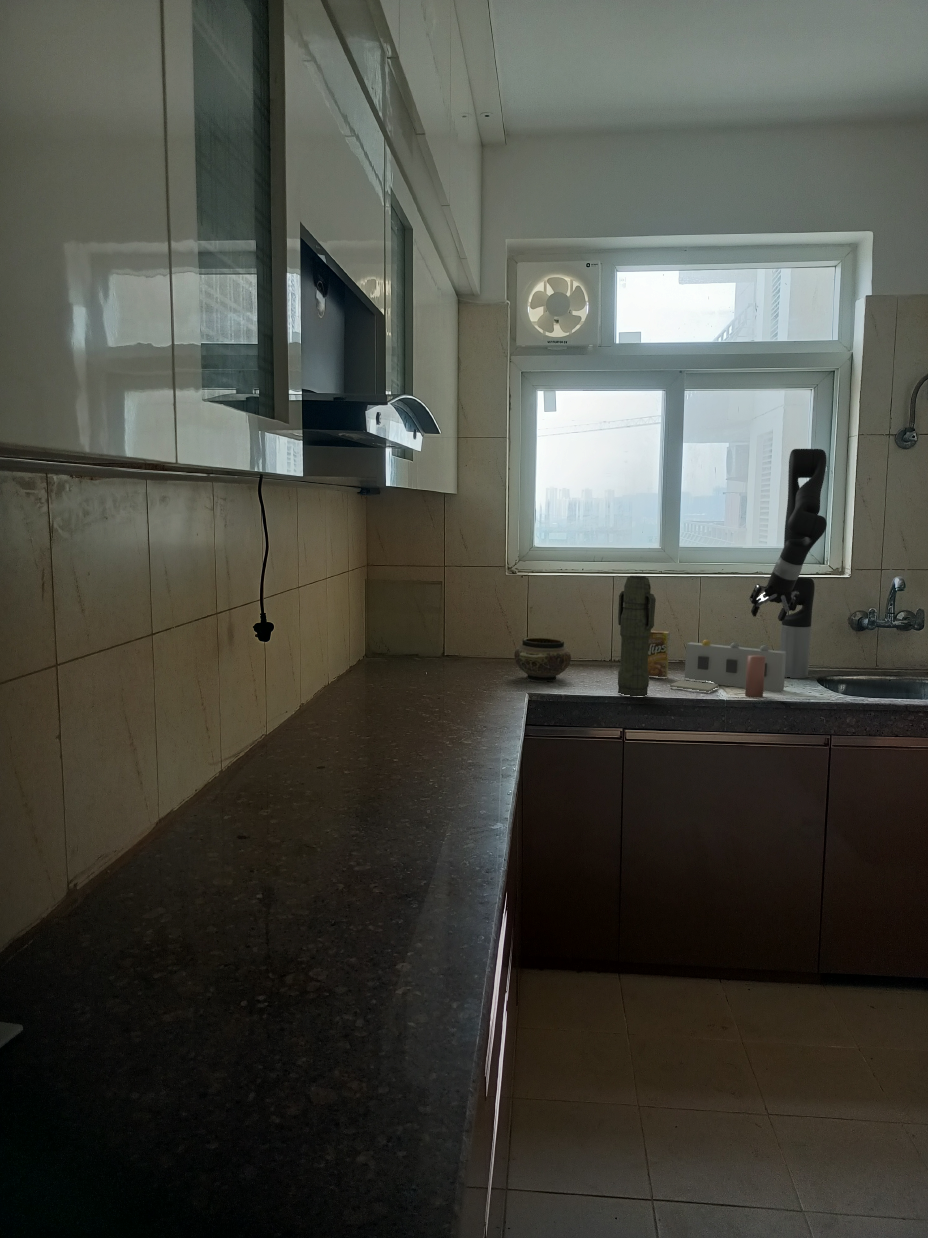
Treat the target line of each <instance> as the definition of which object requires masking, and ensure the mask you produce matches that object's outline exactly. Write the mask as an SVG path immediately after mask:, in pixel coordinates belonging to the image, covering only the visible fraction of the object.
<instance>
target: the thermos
mask: <svg viewBox="0 0 928 1238" xmlns="http://www.w3.org/2000/svg"><path fill="white" fill-rule="evenodd" d="M651 589H652V587H651V582H650V580H649V577H647V576H645V575H630V576H627V577H626V580H625V583H624V586H623V590H621V592H620V593H619V595H618V609H617V610H618V613H617V615H618V616H617V621H618V623H617V624H618V626H619V629H620V631H619V635H620V637H621V638H620V639H621V642H620V643H621V645H620V646H621V647H620V667H619V669H618V671H617V686H618V688H617V694H618V693H621V694H624V695H630V696H645V695H647V694H648V691H649V690H648V689H649V685H650V678H649V671H648V646H649V638H650V636H651V631H652V629H653V628H654V627H655V614H656V613H655V612H656V603H657V601H656V597H655V595H654V593H651V591H652V590H651ZM647 696H648V695H647ZM645 697H646V696H645Z"/></svg>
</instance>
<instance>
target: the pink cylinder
mask: <svg viewBox="0 0 928 1238" xmlns="http://www.w3.org/2000/svg"><path fill="white" fill-rule="evenodd" d="M764 671H765V656H760V655H748V656H747V673H746V688H745V690H744V694H745V697H746V698H750V697H762V698H764V690H763V687H764Z"/></svg>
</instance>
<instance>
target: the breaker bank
mask: <svg viewBox="0 0 928 1238" xmlns="http://www.w3.org/2000/svg"><path fill="white" fill-rule="evenodd" d="M685 644H686V646H685V663H684V679H685V678H689V679H695V680H707V681H711V682H714V683H715V684H717V685H718V684H719V685H720V686H729V687H736V688H745V689H746V673H747V656H748V655H760V656H765V671H764V687H763V691H768V692H775V693H777V692H778V693H783V691H784V689H785V678H786V677H785V663H786V652H784V651H780V650H772V649H771V650H770V649H769V647H768V646H767V645H765V644H763V645H761V646H760V647H759V648H753V647H742V646H740V645H739V643H738V642H736V641H735V642H732V643H731V644H730V645H721V644H712V643H711V641H710V640H709V639H704V640H703V641H702V642H701V643H700V642H694V641H693V642H692V641H691V642H687V643H685Z"/></svg>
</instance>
